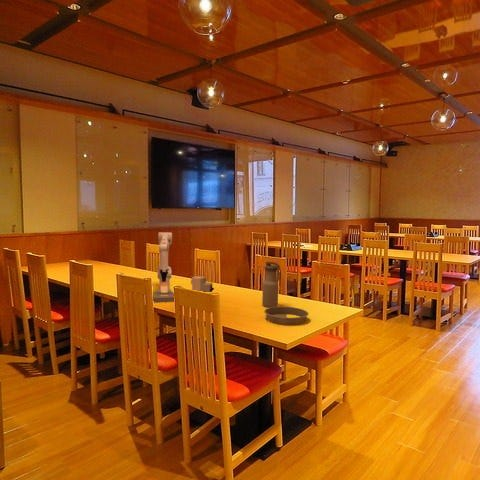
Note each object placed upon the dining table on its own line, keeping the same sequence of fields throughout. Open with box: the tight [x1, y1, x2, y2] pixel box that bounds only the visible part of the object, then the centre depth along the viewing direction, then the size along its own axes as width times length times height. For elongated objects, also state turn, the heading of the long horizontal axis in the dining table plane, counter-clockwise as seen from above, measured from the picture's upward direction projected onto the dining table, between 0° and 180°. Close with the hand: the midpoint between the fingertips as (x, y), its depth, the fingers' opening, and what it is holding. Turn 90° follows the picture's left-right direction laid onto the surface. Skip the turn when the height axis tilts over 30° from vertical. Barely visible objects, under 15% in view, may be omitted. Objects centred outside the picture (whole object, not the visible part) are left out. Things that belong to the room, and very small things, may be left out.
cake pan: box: [263, 306, 309, 326], centre depth 223 cm, size 25×25×4 cm
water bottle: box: [261, 260, 281, 308], centre depth 251 cm, size 10×10×28 cm
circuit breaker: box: [190, 275, 215, 293], centre depth 264 cm, size 8×14×15 cm, turn 78°
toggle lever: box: [160, 283, 168, 294], centre depth 268 cm, size 2×5×7 cm, turn 103°
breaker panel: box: [152, 288, 175, 303], centre depth 265 cm, size 18×18×6 cm
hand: (163, 280), depth 273 cm, fingers open, 6 cm apart
